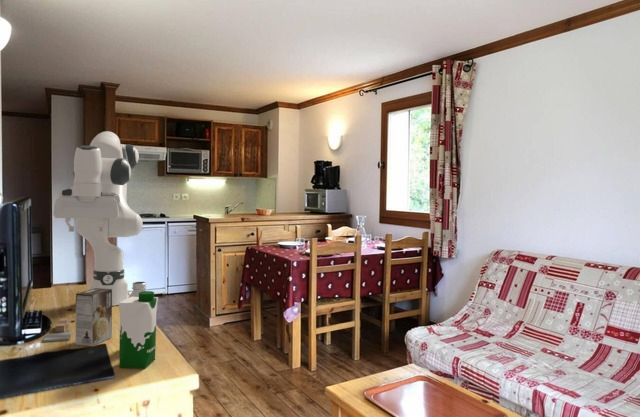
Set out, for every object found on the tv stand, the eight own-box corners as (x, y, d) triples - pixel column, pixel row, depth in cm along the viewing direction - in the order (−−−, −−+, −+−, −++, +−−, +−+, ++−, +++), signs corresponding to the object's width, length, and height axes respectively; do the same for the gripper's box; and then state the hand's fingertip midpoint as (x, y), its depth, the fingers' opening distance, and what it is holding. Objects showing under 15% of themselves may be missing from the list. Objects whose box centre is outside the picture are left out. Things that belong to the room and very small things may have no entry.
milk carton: (146, 370, 121) (148, 296, 121) (113, 369, 121) (115, 295, 121) (159, 358, 130) (161, 289, 129) (128, 357, 130) (129, 288, 130)
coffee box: (95, 335, 148) (95, 287, 148) (112, 337, 147) (113, 288, 146) (74, 344, 139) (75, 293, 139) (92, 346, 138) (93, 294, 138)
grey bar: (52, 327, 156) (53, 318, 156) (75, 325, 159) (75, 317, 159) (43, 342, 141) (43, 333, 140) (68, 340, 143) (68, 331, 143)
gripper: (120, 193, 164) (119, 230, 164) (56, 191, 157) (55, 230, 157) (119, 192, 158) (118, 232, 159) (52, 190, 151) (52, 232, 151)
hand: (86, 231), depth 158 cm, fingers open, 8 cm apart
